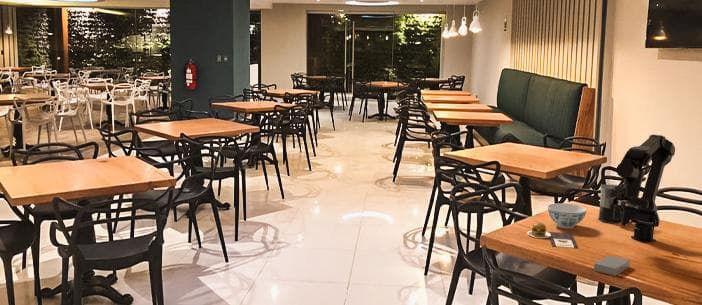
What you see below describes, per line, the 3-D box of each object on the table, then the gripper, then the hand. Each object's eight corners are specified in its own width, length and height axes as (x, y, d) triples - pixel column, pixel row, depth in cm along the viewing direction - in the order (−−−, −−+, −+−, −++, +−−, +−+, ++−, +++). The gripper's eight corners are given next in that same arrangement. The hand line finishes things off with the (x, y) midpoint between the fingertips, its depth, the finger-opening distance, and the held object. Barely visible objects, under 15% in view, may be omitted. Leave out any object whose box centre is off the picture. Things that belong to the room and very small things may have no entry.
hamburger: (551, 243, 239) (552, 229, 238) (519, 238, 245) (520, 224, 244) (557, 235, 249) (558, 221, 249) (526, 230, 255) (527, 217, 254)
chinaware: (580, 233, 250) (582, 214, 248) (541, 227, 258) (543, 209, 256) (588, 224, 262) (590, 206, 261) (551, 219, 270) (552, 201, 269)
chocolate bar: (571, 233, 249) (578, 247, 232) (571, 235, 249) (577, 250, 232) (547, 231, 251) (552, 245, 234) (547, 234, 251) (552, 248, 234)
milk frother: (593, 218, 273) (595, 184, 270) (624, 216, 277) (627, 182, 274) (614, 227, 259) (617, 192, 257) (647, 225, 263) (651, 190, 261)
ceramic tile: (609, 255, 218) (594, 263, 209) (630, 260, 213) (615, 268, 204) (608, 263, 218) (593, 271, 210) (629, 268, 213) (615, 277, 205)
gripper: (599, 178, 236) (590, 219, 235) (621, 176, 218) (612, 221, 217) (629, 185, 236) (620, 227, 235) (653, 184, 218) (644, 229, 217)
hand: (623, 225), depth 226 cm, fingers closed
